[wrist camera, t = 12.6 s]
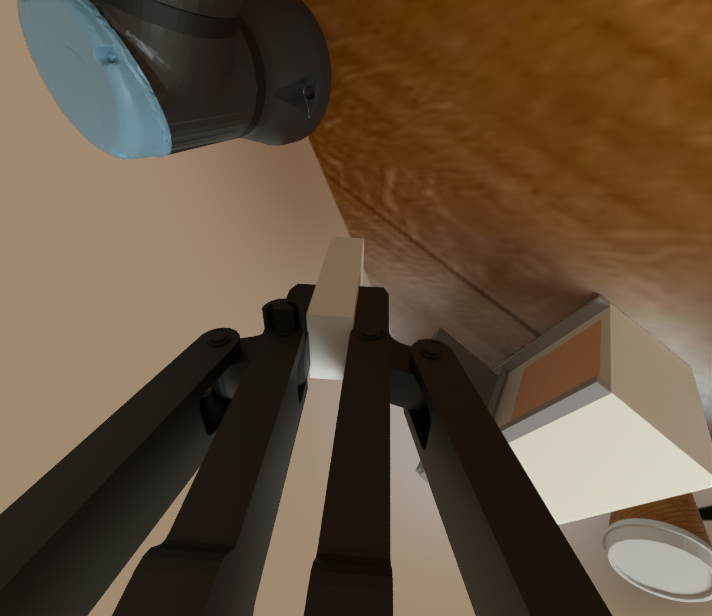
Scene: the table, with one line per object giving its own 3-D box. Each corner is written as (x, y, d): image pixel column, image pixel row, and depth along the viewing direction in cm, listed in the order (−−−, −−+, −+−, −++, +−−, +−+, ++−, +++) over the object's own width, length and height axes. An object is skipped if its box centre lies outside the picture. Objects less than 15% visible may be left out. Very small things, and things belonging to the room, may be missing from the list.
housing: (454, 395, 54) (418, 474, 44) (599, 294, 38) (596, 381, 28) (516, 448, 54) (494, 541, 43) (691, 368, 37) (723, 486, 27)
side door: (398, 364, 55) (359, 421, 47) (445, 319, 48) (409, 378, 39) (450, 408, 55) (420, 475, 46) (507, 370, 47) (483, 442, 38)
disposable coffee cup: (680, 436, 41) (699, 537, 32) (720, 499, 42) (749, 613, 34) (588, 446, 48) (583, 533, 39) (625, 501, 49) (629, 597, 40)
